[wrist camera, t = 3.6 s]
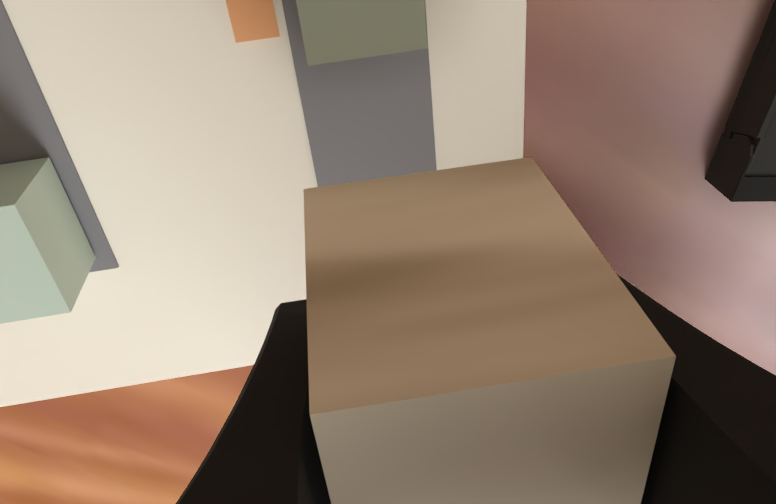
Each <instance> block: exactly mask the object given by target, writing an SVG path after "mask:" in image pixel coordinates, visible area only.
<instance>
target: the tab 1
mask: <svg viewBox="0 0 776 504" xmlns="http://www.w3.org/2000/svg"><path fill="white" fill-rule="evenodd" d="M95 258H96V257H95V255H94V253H93V250H92V248H91V246H90V244H89V242H88V240H87V237H86V235H85V233H84V231H83V229H82V227H81V225H80V222H79V220H78V218H77V216H76V214H75V212H74V209H73V207H72V205H71V203H70V201H69V199H68V196H67V194H66V192H65V190H64V188H63V186H62V184H61V181H60V179H59V177H58V175H57V173H56V171H55V168H54V166H53V164H52V162H51V160H50V158H49V157H47V158H40V159H34V160H27V161H20V162H14V163H7V164H0V324H2V323H8V322H14V321H20V320H27V319H33V318H39V317H45V316H52V315H58V314H64V313H70V312H71V311H72V309H73V307H74V305H75V302H76V300H77V298H78V296H79V294H80V291H81V289H82V287H83V285H84V283H85V280H86V278H87V276H88V274H89V271H90V269H91V267H92V265H93V263H94V260H95Z"/></svg>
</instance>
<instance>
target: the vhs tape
mask: <svg viewBox="0 0 776 504" xmlns="http://www.w3.org/2000/svg"><path fill="white" fill-rule="evenodd" d="M726 127H728V128H727V130H726V133H722V136H721V139H720V141H719V144H718V146H717V149H716V151H715V154H714V157H713V159H712V162H711V164H710V167H709V169H708V172H707V174H706V177H705V179H706V180H707V181H708V182H709V183H710V184H712V185H713V186H714V187H715V188H716V189H717V190H719V191H720V192H721V193H722V194H723V195H724V196H725V197H727V198H728V199H729V200H730V201H731V202H735V201H776V0H775V1H774V4H773V6H772V9H771V11H770V14H769V16H768V19H767V21H766V24H765V27H764V29H763V32H762V34H761V37H760V39H759V42H758V44H757V47H756V49H755V52H754V54H753V57H752V59H751V62H750V65H749V67H748V70H747V72H746V75H745V77H744V80H743V82H742V85H741V88H740V90H739V93H738V95H737V98H736V100H735V103H734V105H733V108H732V111H731V113H730V116H729V118H728V121H727V123H726Z"/></svg>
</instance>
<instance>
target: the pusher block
mask: <svg viewBox="0 0 776 504" xmlns="http://www.w3.org/2000/svg"><path fill="white" fill-rule="evenodd" d="M303 191H304V228H305V265H306V302H307V338H308V375H309V412H310V419H311V423H312V427H313V431H314V435H315V439H316V443H317V447H318V451H319V455H320V460H321V464H322V468H323V472H324V476H325V480H326V484H327V488H328V492H329V496H330V501H331V504H641V500H642V496H643V492H644V488H645V484H646V480H647V475H648V471H649V467H650V463H651V459H652V455H653V450H654V446H655V442H656V438H657V434H658V430H659V425H660V421H661V417H662V413H663V409H664V405H665V400H666V396H667V392H668V388H669V384H670V380H671V375H672V371H673V367H674V363H675V359H676V355H675V354H674V353H673V351H672V350H671V349H670V347H669V346H668V344H667V343H666V342H665V340H664V339H663V338H662V336H661V335H660V333H659V332H658V331H657V329H656V328H655V326H654V325H653V324H652V322H651V321H650V320H649V318H648V317H647V315H646V314H645V313H644V311H643V310H642V309H641V307H640V306H639V304H638V303H637V302H636V300H635V299H634V298H633V296H632V295H631V293H630V292H629V291H628V289H627V288H626V286H625V285H624V284H623V282H622V281H621V280H620V278H619V277H618V275H617V274H616V273H615V271H614V270H613V269H612V267H611V266H610V264H609V263H608V262H607V260H606V259H605V258H604V256H603V255H602V253H601V252H600V251H599V249H598V248H597V246H596V245H595V244H594V242H593V241H592V240H591V238H590V237H589V235H588V234H587V233H586V231H585V230H584V229H583V227H582V226H581V224H580V223H579V222H578V220H577V219H576V218H575V216H574V215H573V213H572V212H571V211H570V209H569V208H568V206H567V205H566V204H565V202H564V201H563V200H562V198H561V197H560V195H559V194H558V193H557V191H556V190H555V189H554V187H553V186H552V184H551V183H550V182H549V180H548V179H547V178H546V176H545V175H544V173H543V172H542V171H541V169H540V168H539V166H538V165H537V164H536V162H535V161H534V160H533V158H532V157H527V158H520V159H513V160H506V161H499V162H491V163H484V164H477V165H470V166H463V167H456V168H449V169H442V170H435V171H428V172H421V173H414V174H406V175H399V176H392V177H385V178H378V179H371V180H364V181H357V182H350V183H343V184H336V185H329V186H321V187H314V188H307V189H303Z"/></svg>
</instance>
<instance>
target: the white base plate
mask: <svg viewBox="0 0 776 504" xmlns="http://www.w3.org/2000/svg"><path fill="white" fill-rule="evenodd" d="M526 1H527V0H424V2H425V17H426V32H427V46H428V49H421V50H414V51H407V52H400V53H393V54H387V55H380V56H373V57H366V58H359V59H352V60H346V61H339V62H332V63H325V64H318V65H311V66H308V64H307V59H306V53H305V48H304V42H303V37H302V31H301V26H300V20H299V15H298V9H297V4H296V0H0V164H7V163H14V162H20V161H27V160H34V159H40V158H47V157H49V158H50V160H51V162H52V164H53V166H54V168H55V171H56V173H57V175H58V177H59V179H60V181H61V184H62V186H63V188H64V190H65V192H66V194H67V196H68V199H69V201H70V203H71V205H72V207H73V209H74V212H75V214H76V216H77V218H78V220H79V222H80V225H81V227H82V229H83V231H84V233H85V235H86V237H87V240H88V242H89V244H90V246H91V248H92V250H93V253H94V255H95V257H96V258H95V260H94V263H93V265H92V267H91V269H90V271H89V274H88V276H87V278H86V280H85V283H84V285H83V287H82V289H81V291H80V294H79V296H78V298H77V300H76V302H75V305H74V307H73V309H72V311H71V312H70V313H64V314H58V315H52V316H45V317H39V318H33V319H27V320H20V321H14V322H8V323H2V324H0V407H4V406H10V405H16V404H22V403H28V402H34V401H40V400H46V399H52V398H58V397H64V396H70V395H76V394H82V393H88V392H94V391H100V390H106V389H112V388H118V387H124V386H130V385H136V384H142V383H148V382H154V381H160V380H166V379H172V378H178V377H184V376H190V375H196V374H202V373H208V372H214V371H220V370H226V369H232V368H238V367H244V366H250V365H254V364H255V361H256V359H257V357H258V354H259V352H260V350H261V347H262V345H263V343H264V340H265V338H266V335H267V332H268V330H269V327H270V324H271V321H272V318H273V315H274V312H275V309H276V308H277V307H278V306H279V305H280V303H285V302H291V301H298V300H305V299H306V265H305V228H304V191H303V189H307V188H314V187H321V186H329V185H336V184H343V183H350V182H357V181H364V180H371V179H378V178H385V177H392V176H399V175H406V174H414V173H421V172H428V171H435V170H442V169H449V168H456V167H463V166H470V165H477V164H484V163H491V162H499V161H506V160H513V159H520V158H523V138H524V93H525V47H526Z"/></svg>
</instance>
